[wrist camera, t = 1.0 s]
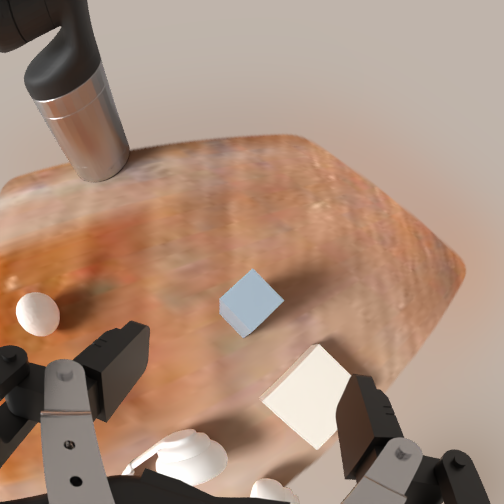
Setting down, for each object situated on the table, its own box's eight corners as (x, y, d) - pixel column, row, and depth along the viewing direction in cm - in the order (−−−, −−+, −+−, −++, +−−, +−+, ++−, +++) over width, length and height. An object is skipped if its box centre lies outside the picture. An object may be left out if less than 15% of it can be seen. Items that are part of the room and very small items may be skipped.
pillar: (243, 338, 35) (252, 332, 26) (219, 313, 36) (219, 298, 26) (267, 315, 36) (284, 300, 27) (243, 291, 37) (252, 268, 27)
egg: (64, 294, 34) (35, 280, 27) (71, 333, 32) (42, 327, 26) (34, 303, 33) (3, 291, 26) (41, 341, 31) (9, 336, 25)
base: (258, 398, 33) (262, 401, 30) (311, 345, 35) (319, 343, 33) (309, 443, 31) (317, 450, 28) (358, 391, 34) (369, 393, 31)
